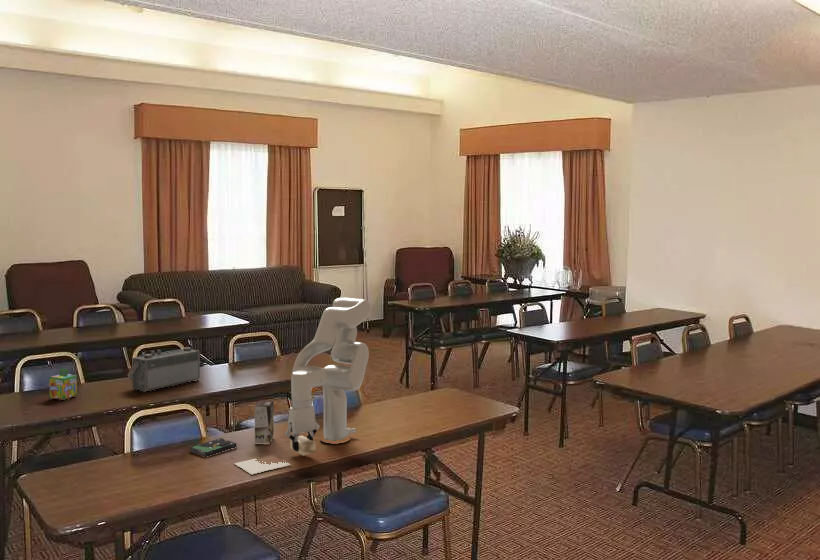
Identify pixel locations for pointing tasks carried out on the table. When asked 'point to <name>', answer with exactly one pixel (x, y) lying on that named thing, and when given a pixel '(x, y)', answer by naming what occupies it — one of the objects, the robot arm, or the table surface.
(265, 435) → the coffee box
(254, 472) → the mat
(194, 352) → the radio
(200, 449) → the disk drive
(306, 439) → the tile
